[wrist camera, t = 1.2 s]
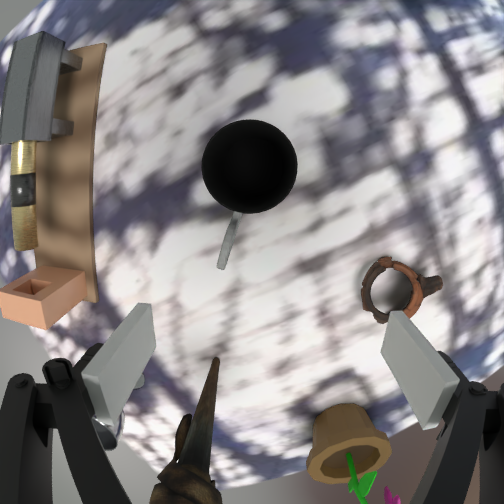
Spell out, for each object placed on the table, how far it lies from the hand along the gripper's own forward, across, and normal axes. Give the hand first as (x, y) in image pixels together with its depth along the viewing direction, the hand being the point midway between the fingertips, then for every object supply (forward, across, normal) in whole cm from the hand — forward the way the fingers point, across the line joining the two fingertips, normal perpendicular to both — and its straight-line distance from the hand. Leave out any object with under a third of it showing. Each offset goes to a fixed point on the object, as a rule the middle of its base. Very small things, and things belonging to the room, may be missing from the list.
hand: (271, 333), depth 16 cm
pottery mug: (+25, +19, -7) cm, 32 cm away
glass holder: (+25, -2, +6) cm, 26 cm away
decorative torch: (+25, -7, -20) cm, 33 cm away
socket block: (+24, -31, -8) cm, 40 cm away
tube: (+18, -30, +13) cm, 37 cm away
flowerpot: (+25, +15, -34) cm, 45 cm away
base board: (+25, -30, +9) cm, 40 cm away
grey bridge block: (+24, -30, +20) cm, 43 cm away
